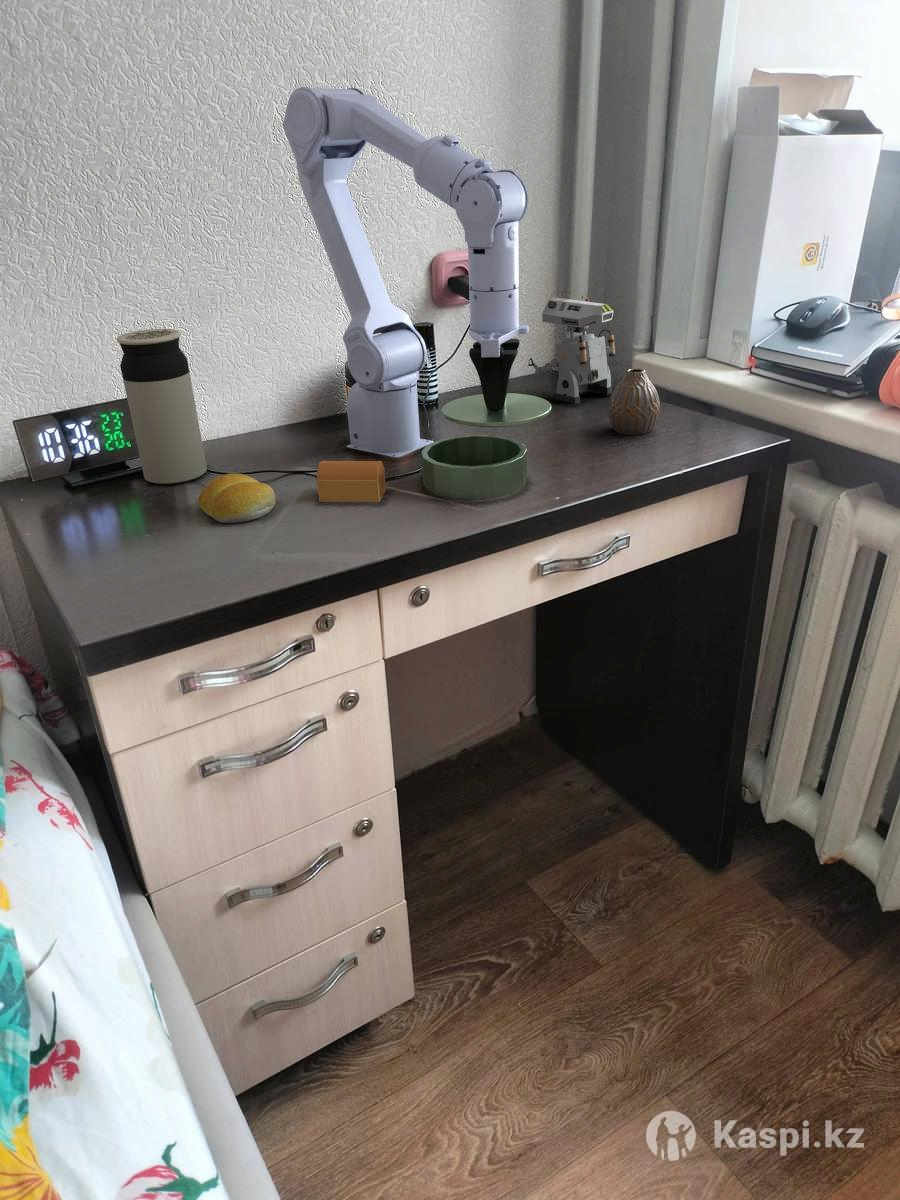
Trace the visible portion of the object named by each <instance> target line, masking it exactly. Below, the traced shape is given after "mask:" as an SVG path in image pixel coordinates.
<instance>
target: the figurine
mask: <svg viewBox="0 0 900 1200" xmlns="http://www.w3.org/2000/svg"><path fill="white" fill-rule="evenodd" d="M613 315H614V309H613V308H611V307H610V305H608V304H607V303H601V302H592V301H590V299H589V298H586V299H585V300H577V299H570V298H562V297H552V298H549V299H548V300H547V303H546V304H545V306H544V309H543V311H542V313H541V318H542V323H547V324H553V325H561V326H566V327H567V329H566V331H567V332H569V336H566V337H563V341H561V342H557V343H555V351H556V354H555V356H554V358H553V359H551V360H550V361H549V362H547V363H545V364H544V365H543V366H538V365H537V364H536V363H535V362H534V360H533V358H532V357H530V358H529V359H528V363H527V364H528V367H533V368H534V369H535V370H534V374H535V375H536V376H542V375H543V374H544V373H545V372H550V371H551V370H553V369H554V368H557V369H558V379H557V384H556V392H555V395H554V400H556V401H562V402H565V403H571V404H574V405H575V404H581V395H580V394H579V386H580V385H587V387H586V391H588V393H592V394H594V395H595V394H598V395H599V396H604V397H605V396H609V395H610V394H612V392H613V386H612V377H611V375H612V374H611V370H610V367H609V365H608V359H607V355H608V357H609V358H610V357H612V358H613V357H616V356H617V353H616V347H615V336H614V334H612V333H611V331H610V330H608V329H602V330H601V331H600V332H599V334H598V336H595V334H594V333H587V331H588V329H589V326H590V325H593V324H596V323H605V322H609V321H612V319H613ZM603 332H607V333H609V334H608V335H607V344H608V345H607V344H606V338H605V336H604V335H602V333H603ZM574 333H576V334H577V335H575V334H574ZM606 345H607V346H606ZM530 362H531V363H530Z"/></svg>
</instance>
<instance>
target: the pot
mask: <svg viewBox="0 0 900 1200" xmlns="http://www.w3.org/2000/svg"><path fill="white" fill-rule="evenodd" d="M420 454H421V456H420V457H421V471H422V484H423V486H424V489H425V490H426V491H428V492H429V493H431V494H433V495H434V496H437V497H442V498H447V499H451V500H466V501H470V500H471V501H477V500H486V499H488V500H489V499H496V498H500V497H503V496H507V495H511V494H513V493H515V492H518V491H519V490H520V489H522V488H524V486H525V485H526V483H527V481H528V449H527V448H526V446H525V444H524V443H522V442H520V441H518V440H516V439H513V438H511V437H506V436H500V435H491V434H467V435H456V436H451V437H447V438H442V439H438V440H436V441H433V443H431V444H428V445H426V446H424V447H423V449H422V451H421V452H420Z"/></svg>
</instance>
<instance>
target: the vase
mask: <svg viewBox="0 0 900 1200" xmlns="http://www.w3.org/2000/svg"><path fill="white" fill-rule="evenodd" d="M660 408H661V402H660V397H659V392H658V391H657V389H656V387H655V386H654V384H653V382H652V381H651V380H650V379H649V377H648V374H647V372H646V370H645V369H643V368H634V367H633V368H628V369H627V370H626V372H625V374H624V376H623V377H622V379H621V380H620V381H619V383H618V384H616V385H615V388H613V389H612V393H611V395H610V397H609V401H608V418H609V423H610V425H611V427H612V429H613V430H614V431H615V432H616V433H618V434H621V435H626V436H640V435H641V436H642V435H646V434H648V433H651V431H652V430H653V429H654V428H655V426H656V425H657V422H658V420H659V415H660V411H661V410H660Z"/></svg>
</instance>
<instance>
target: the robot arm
mask: <svg viewBox="0 0 900 1200" xmlns="http://www.w3.org/2000/svg"><path fill="white" fill-rule="evenodd" d="M282 128H283V130H284V133H285V136H286V138H287V142H288V144H289V147H290V149H291V152H292V155H293V156H294V159H295V163H296V169H297V177H298V180H299V181H298V182H299V185H300V187H301V190H302V192H303V196H304V198H305V200H306V204H307V207H308V208H309V211H310V213H311V216H312V218H313V222H314V224H315V226H316V229H317V232H318V234H319V237H320V240H321V243H322V245H323V247H324V250H325V252H326V255H327V257H328V261H329V263H330V265H331V268H332V270H333V273H334V276H335V278H336V281H337V283H338V285H339V288H340V291H341V294H342V296H343V299H344V302H345V304H346V307H347V309H348V312H349V315H350V317H351V319H350V322H349V323H348V326H347V327H346V329H345V331H344V333H343V335H342V340H343V343H344V345H345V346H344V347H345V350H346V357H347V358H346V359H347V360H346V361H347V367H348V370H349V372H350V374H351V377H352V378H353V379H354V381H355V383H354V384H353V385H352V386H351V387H350V388H349V391H348V394H347V398H346V412H347V421H348V422H347V423H348V432H349V442H350V444H348V445H346V448H349V449H354V450H359V451H363V452H368V453H372V454H378V455H383V456H387V457H392V458H401V457H403V456H405V455H407V454H410V453H412V452H414V451H416V450H419V449H421V448H425V447H426V446H427V445H429V444H431V443H434V441H433V440H431V439H424V438H421V435H420V434H421V433H420V418H419V417H420V415H419V403H418V402H419V401H418V385H417V381H419V380H420V372H421V371H422V370H423V369H424V368H425V365H426V363H427V358H428V351H427V345H426V342H425V340H424V338H423V336H422V335H421V334H420V332H418V330H417V329H416V328H415V327H414V325H413V322H412V321H411V317H410V315H409V314H408V313H406V312H405V311H403V310H402V309H401V308H399V307H397V306H396V305H395V304H393V303H392V302H391V299H390V295H389V293H388V291H387V289H386V285H385V283H384V280H383V277H382V275H381V272H380V269H379V267H378V264H377V262H376V258H375V256H374V254H373V252H372V248H371V246H370V242H369V241H368V238H367V235H366V232H365V230H364V226H363V224H362V222H361V221H362V220H361V219H360V217H359V213H358V210H357V208H356V205H355V203H354V201H353V200H354V199H353V197H352V195H351V192H350V189H349V187H348V185H347V178H348V176H349V173H350V171H351V170H352V169H353V168H354V167H355V165H356V163H357V161H358V160H359V158H360V156H361V154H362V152H363V151H364V150H365V147H366V146H367V144H368V143H369V144H370V145H371V146H374V147H376V148H377V149H379V150H381V151H382V152H384V153H386V154H387V155H389V156H391V157H393V159H394V158H395V159H396V160H398V161H400V162H402V163H403V164H405V165H407V166H408V167H410V168H412V170H413V172H412V173H413V178H414V181H415V183H416V184H417V185H418V187H420V188H422V189H423V190H425V191H426V192H428V193H429V194H431V195H433V196H434V197H436V198H437V199H438V200H440V201H441V202H443V203H444V204H446V205H448V206H449V207H450V208H452V209H454V210H455V213H456V217H457V219H458V221H459V222H460V224H461V226H462V227H463V232H464V242H465V243H466V245H467V257H468V259H467V260H468V261H467V263H468V299H469V327H468V336H469V337H471V339H473V340H474V341H475V342H473V344H472V347H471V348H469V351H468V355H469V356H468V357H469V359H470V360H471V362H472V364H473V366H474V368H475V370H476V372H477V375H478V378H479V382H480V387H481V392H482V394H483V397H484V401H485V405H486V408H487V409H499V408H504V404H505V400H506V395H507V393H508V390H509V383H510V376H511V371H512V368H513V364H514V362H515V360H516V358H517V355H518V352H519V347H520V341H521V340H520V339H519V338H515V337H517V336H520V335H528V334H529V332H530V326H529V325H528V324H520V304H519V303H520V301H519V298H520V297H519V295H520V294H519V293H520V291H519V289H520V287H519V285H520V284H519V283H520V282H519V281H520V278H519V277H520V275H519V271H520V270H519V266H520V265H519V222H521V220H522V219H523V218H524V217H525V215H526V213H527V211H528V210H527V209H528V205H529V193H528V192H529V191H528V188H527V186H526V184H525V182H524V181H523V179H522V178H521V177H520V176H519V175H518V174H517V173H516V171H514V170H513V169H507V168H506V169H505V168H504V169H499V170H496V171H494V169H493V168H492V167H491V164H492V163H491V161H490V160H488V159H487V158H485V157H480V158H478V157H476V156H474V155H473V154H471V153H470V152H469V151H467V150H465V149H464V148H462V147H460V146H459V145H460V139H458V138H457V137H456V136H454V135H453V134H452V135H450V134H449V135H444V136H443V135H435V136H433V137H431V138H429V139H427V137H426V136H424V135H422V134H421V133H419V132H418V131H417V130H416V129H414V128H413V127H412V126H410V125H408V123H406V122H405V121H404V120H402V119H401V118H399V117H398V116H397V115H396V114H394V113H393V112H391V111H390V110H389V109H388V108H386V107H385V106H383V105H382V104H381V103H380V102H379V100H378V98H377V97H376V96H373V95H371V94H367V93H366V92H365V91H364V90H362V89H361V88H358V87H347V88H312V87H310V86H300V87H298V88H296V89H294V90H293V91H292V93H291V94H290V96H289V98H288V100H287V104H286V108H285V113H284V116H283V121H282Z"/></svg>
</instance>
